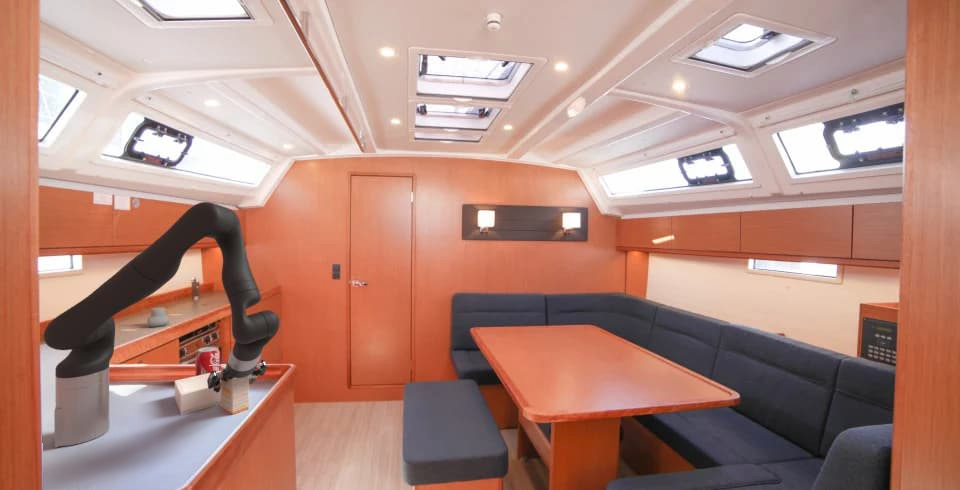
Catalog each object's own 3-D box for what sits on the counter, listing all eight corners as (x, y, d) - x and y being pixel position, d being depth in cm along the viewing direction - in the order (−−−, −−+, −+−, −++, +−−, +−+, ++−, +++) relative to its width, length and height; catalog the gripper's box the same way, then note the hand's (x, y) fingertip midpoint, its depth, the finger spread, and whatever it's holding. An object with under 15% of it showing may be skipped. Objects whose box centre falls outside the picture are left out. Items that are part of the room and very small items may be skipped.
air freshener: (169, 326, 193) (169, 308, 193) (149, 329, 187) (149, 311, 187) (166, 322, 200) (166, 305, 200) (147, 325, 194) (147, 307, 194)
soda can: (206, 386, 120) (206, 353, 120) (190, 384, 121) (190, 351, 121) (225, 378, 127) (225, 346, 126) (209, 376, 128) (209, 345, 128)
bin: (180, 415, 101) (181, 395, 101) (174, 399, 111) (174, 380, 110) (237, 399, 112) (237, 381, 111) (227, 385, 121) (227, 369, 121)
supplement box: (249, 408, 106) (250, 367, 106) (231, 415, 102) (232, 372, 101) (237, 401, 110) (237, 361, 110) (219, 407, 106) (220, 365, 106)
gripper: (269, 342, 106) (257, 368, 114) (211, 352, 95) (203, 381, 103) (274, 363, 102) (262, 389, 110) (215, 377, 92) (206, 404, 100)
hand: (233, 385), depth 107 cm, fingers open, 8 cm apart
